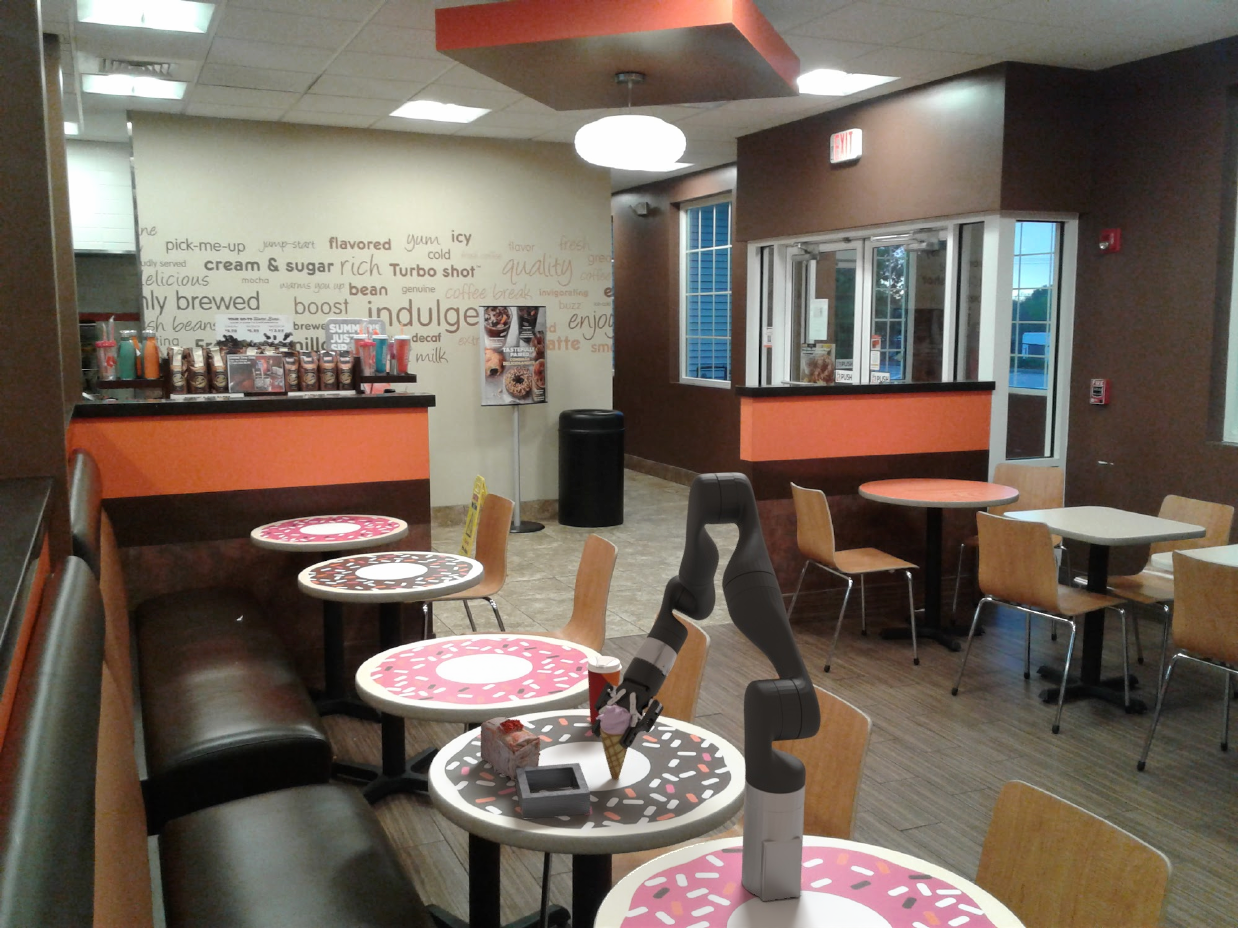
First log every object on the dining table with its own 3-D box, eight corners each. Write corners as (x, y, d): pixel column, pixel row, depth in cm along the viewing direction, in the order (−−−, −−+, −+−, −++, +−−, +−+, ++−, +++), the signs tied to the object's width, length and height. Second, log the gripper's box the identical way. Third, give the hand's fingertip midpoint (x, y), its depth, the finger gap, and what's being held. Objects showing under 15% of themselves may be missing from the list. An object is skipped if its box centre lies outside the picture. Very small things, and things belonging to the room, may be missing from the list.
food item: (546, 775, 192) (546, 726, 191) (511, 787, 187) (511, 737, 186) (507, 751, 203) (507, 705, 201) (473, 762, 198) (473, 714, 196)
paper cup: (617, 731, 213) (617, 668, 211) (582, 727, 214) (582, 665, 212) (624, 716, 220) (625, 656, 218) (590, 713, 222) (590, 653, 220)
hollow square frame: (590, 813, 178) (590, 792, 177) (522, 819, 175) (522, 798, 175) (578, 782, 189) (579, 762, 189) (515, 787, 187) (515, 767, 186)
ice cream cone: (591, 780, 190) (591, 705, 188) (604, 767, 196) (605, 694, 193) (623, 787, 187) (624, 711, 185) (636, 773, 193) (636, 699, 191)
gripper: (614, 648, 199) (572, 720, 192) (669, 665, 189) (627, 743, 182) (632, 667, 203) (591, 738, 196) (687, 685, 193) (645, 761, 187)
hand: (608, 740), depth 189 cm, fingers closed on ice cream cone, 7 cm apart
